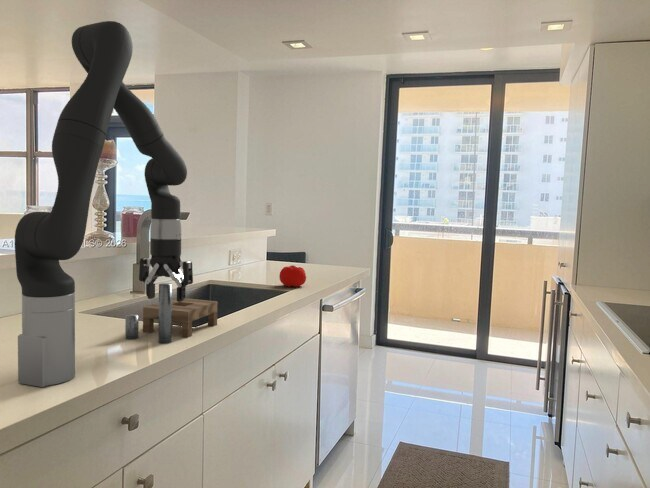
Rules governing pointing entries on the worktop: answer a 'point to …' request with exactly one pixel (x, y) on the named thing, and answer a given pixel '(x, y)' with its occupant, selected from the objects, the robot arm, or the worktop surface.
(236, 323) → the worktop surface
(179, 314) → the wooden square-hole block
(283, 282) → the tomato
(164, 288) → the long pin
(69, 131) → the robot arm
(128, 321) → the short pin
